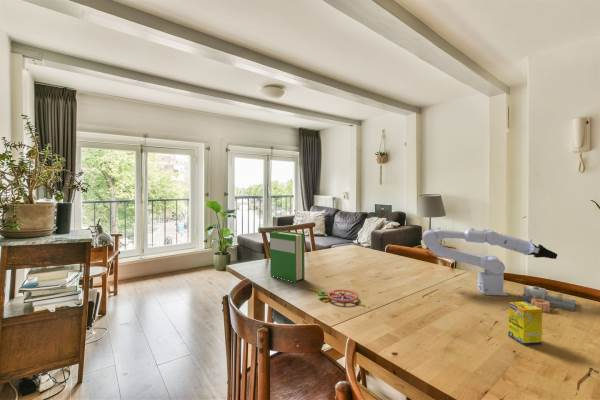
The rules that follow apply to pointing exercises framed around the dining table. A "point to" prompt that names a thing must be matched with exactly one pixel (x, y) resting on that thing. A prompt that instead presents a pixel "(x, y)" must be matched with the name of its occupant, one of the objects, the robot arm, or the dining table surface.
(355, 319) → the dining table surface
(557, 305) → the gear board
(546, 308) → the loose gear
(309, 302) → the dining table surface
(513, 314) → the supplement box
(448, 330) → the dining table surface
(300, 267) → the hardback book
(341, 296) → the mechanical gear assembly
